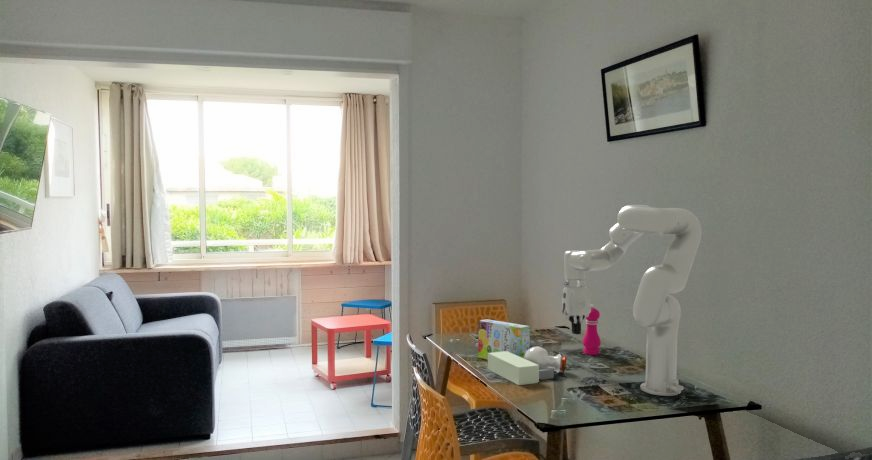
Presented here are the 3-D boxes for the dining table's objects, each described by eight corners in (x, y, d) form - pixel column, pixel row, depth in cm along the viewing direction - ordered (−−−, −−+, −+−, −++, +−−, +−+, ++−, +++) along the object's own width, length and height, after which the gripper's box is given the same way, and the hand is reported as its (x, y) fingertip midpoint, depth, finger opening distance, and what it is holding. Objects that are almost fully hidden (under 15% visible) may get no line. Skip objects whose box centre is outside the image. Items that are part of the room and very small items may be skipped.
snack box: (530, 365, 241) (530, 325, 240) (521, 368, 236) (522, 327, 236) (486, 355, 255) (486, 318, 254) (477, 358, 251) (477, 320, 250)
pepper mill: (601, 355, 255) (601, 306, 255) (582, 354, 257) (583, 305, 256) (600, 351, 263) (600, 303, 262) (582, 350, 264) (582, 302, 263)
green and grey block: (558, 380, 220) (558, 363, 220) (518, 385, 214) (518, 367, 214) (525, 364, 240) (525, 349, 240) (487, 369, 234) (487, 353, 234)
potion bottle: (520, 374, 232) (562, 380, 231) (523, 364, 224) (566, 371, 223) (523, 350, 237) (563, 356, 236) (525, 340, 229) (567, 346, 228)
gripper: (564, 285, 228) (565, 337, 228) (598, 283, 234) (599, 333, 234) (552, 284, 235) (553, 334, 235) (585, 282, 241) (586, 330, 241)
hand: (576, 333), depth 234 cm, fingers closed
